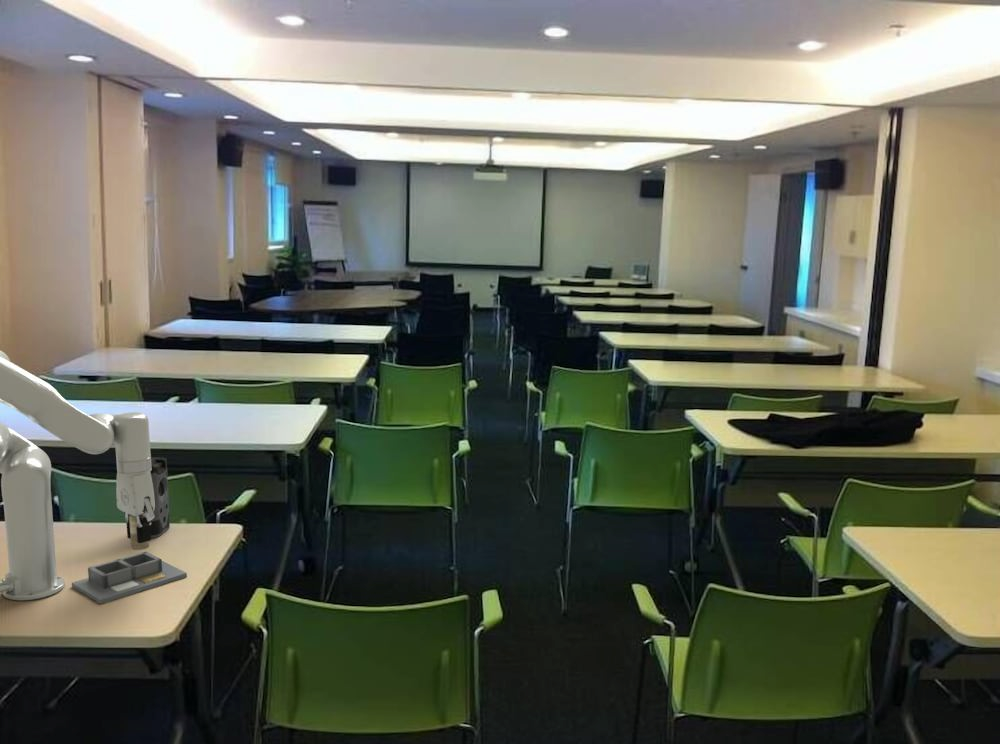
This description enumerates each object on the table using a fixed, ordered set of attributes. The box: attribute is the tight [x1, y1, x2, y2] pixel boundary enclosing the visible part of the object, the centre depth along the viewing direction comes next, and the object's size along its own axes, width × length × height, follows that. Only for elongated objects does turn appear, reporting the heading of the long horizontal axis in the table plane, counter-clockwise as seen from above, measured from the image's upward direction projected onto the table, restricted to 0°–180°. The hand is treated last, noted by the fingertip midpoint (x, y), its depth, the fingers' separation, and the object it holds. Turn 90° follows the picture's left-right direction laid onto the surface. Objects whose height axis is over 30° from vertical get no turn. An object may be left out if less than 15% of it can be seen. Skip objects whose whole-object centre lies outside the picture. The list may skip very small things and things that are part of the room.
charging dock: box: [71, 551, 188, 605], centre depth 208 cm, size 21×14×4 cm, turn 140°
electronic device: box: [142, 456, 171, 539], centre depth 240 cm, size 9×6×20 cm, turn 179°
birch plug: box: [129, 512, 150, 551], centre depth 210 cm, size 4×4×8 cm
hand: (139, 538), depth 210 cm, fingers closed on birch plug, 4 cm apart
